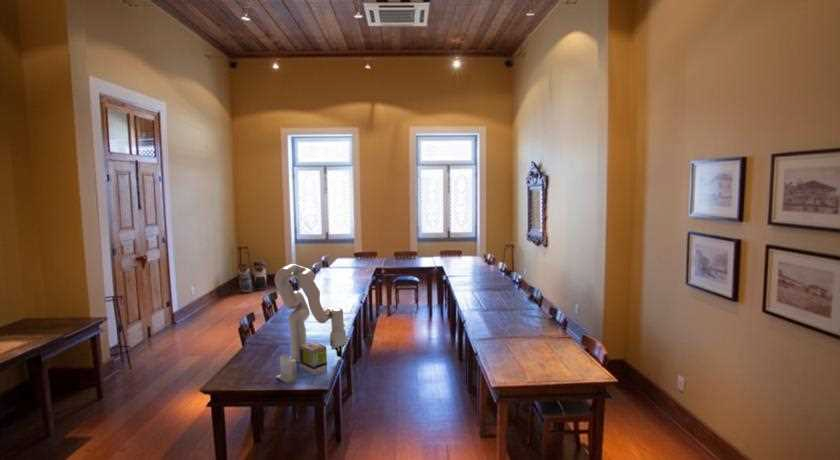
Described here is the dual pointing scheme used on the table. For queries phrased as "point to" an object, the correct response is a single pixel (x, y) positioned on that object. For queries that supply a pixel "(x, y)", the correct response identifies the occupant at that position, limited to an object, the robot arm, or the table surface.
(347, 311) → the table surface
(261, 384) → the table surface
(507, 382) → the table surface
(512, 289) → the table surface
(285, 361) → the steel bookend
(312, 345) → the tea box
